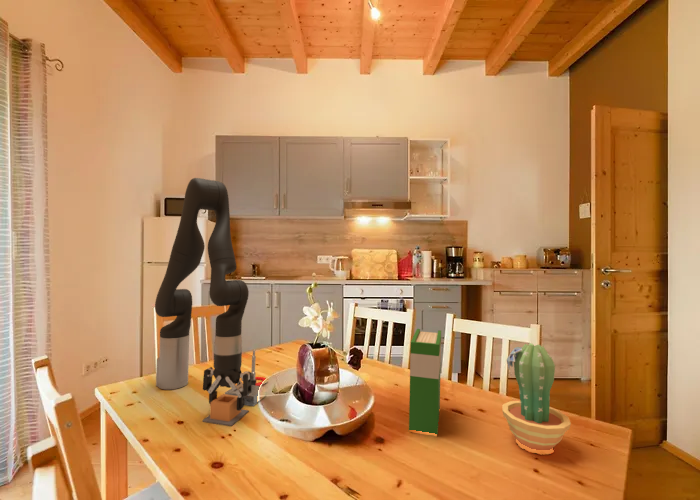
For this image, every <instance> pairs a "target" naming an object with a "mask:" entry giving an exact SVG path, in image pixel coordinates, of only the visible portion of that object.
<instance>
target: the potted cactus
mask: <svg viewBox="0 0 700 500" xmlns="http://www.w3.org/2000/svg"><path fill="white" fill-rule="evenodd" d="M506 364H507V368H508V370H511V368H512V367H513V369H514V371H513V372H514V376H515V378H516V382H517V385H518V392H519V400H510V401H507V402H505V403H503V404H502V406H501V407H502V415H503V417H504V418H505V419H506V422H507V425H508V427H509V430H510V432H511V434H512V435H513V436H514V439H515V438H516V439H517V440H518V441H519V442H520V443H521V444H523V445H525V446H527V447H529V448H531V449H536V450H550V449H552V448H553V447H554V448H555V447H556V446H557V445H558V444H559V443H560V442H561V441H562V439H563V437H564V435H565V433H566V432H567V431H569V430H570V428H571V424H572V422H571V420H570V418H569V416H568V415H567V414H565V413H563V412H562V411H561V410H559V409H557V408H554V407H552V406H550V400H551V397H550V396H551V395H550V394H551V393H550V392H551V389H552V386H553V384H554V381H555V370H556V364H555V362H554V360H553V358H552V357H551V355H550V354H549V352H548V351H547V350H546V347H544V346H542V345H541V344H535V345H534V344H533V343H529V344H526V343H525V344H524V345H523V346H522V347H521V346H516V347H514V348H512V351H511V352H510V353H509V355H508V356H507V359H506Z"/></svg>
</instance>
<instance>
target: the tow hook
mask: <svg viewBox="0 0 700 500" xmlns="http://www.w3.org/2000/svg"><path fill="white" fill-rule="evenodd" d="M256 357H257V356H256V349H253V350H252V355H251V383H252V385H256V386H260V385H261V384H262V382H263V381H264V380H265V379H266V377H264V376H256ZM257 381H258V382H257ZM259 381H260V382H259Z"/></svg>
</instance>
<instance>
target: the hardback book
mask: <svg viewBox="0 0 700 500" xmlns="http://www.w3.org/2000/svg"><path fill="white" fill-rule="evenodd" d="M409 353H410V355H409V356H410V363H409V364H410V365H409V405H408V409H409V410H408V411H409V413H408V431H409V430H416V431H422V432H429V433H435V434H438V435H439V433H438V432H439V424H438V422H440V412H439V409H441V373H442V372H441V367H442V366H441V365H442V362H441V361H442V330H437V332H434V331H433V332H432V331H431V332H430V331H421V328H417V329H416V330H415V332H414V335H413V337H412V338H411V341H410V352H409Z"/></svg>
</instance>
